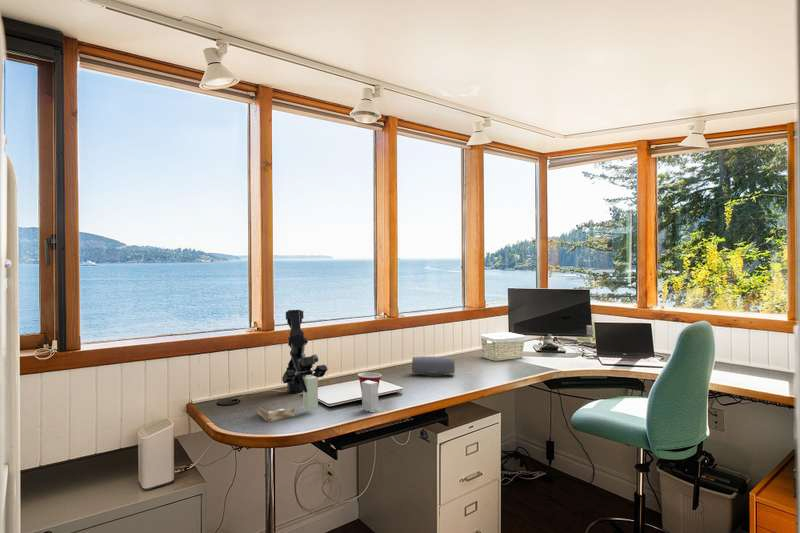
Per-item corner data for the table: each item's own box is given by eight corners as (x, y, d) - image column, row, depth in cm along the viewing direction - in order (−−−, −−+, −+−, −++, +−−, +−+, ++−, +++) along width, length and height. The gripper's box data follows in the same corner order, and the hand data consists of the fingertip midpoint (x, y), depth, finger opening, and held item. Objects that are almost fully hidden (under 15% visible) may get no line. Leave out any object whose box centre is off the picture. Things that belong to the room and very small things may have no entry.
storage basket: (509, 353, 319) (509, 331, 319) (526, 358, 304) (526, 335, 304) (479, 357, 308) (479, 334, 308) (495, 362, 294) (495, 338, 294)
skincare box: (379, 410, 203) (378, 382, 203) (371, 413, 200) (371, 384, 200) (369, 407, 208) (368, 379, 207) (361, 410, 204) (361, 381, 204)
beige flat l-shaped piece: (283, 409, 206) (283, 402, 206) (294, 415, 197) (294, 408, 197) (257, 414, 200) (257, 407, 199) (268, 421, 191) (268, 414, 191)
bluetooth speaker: (454, 373, 267) (454, 355, 267) (454, 377, 258) (454, 358, 258) (413, 372, 270) (413, 354, 269) (412, 376, 260) (411, 358, 260)
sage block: (312, 403, 204) (312, 375, 204) (317, 406, 201) (317, 377, 201) (303, 405, 202) (302, 377, 201) (308, 408, 198) (307, 379, 198)
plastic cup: (386, 398, 220) (386, 372, 220) (373, 405, 211) (373, 377, 210) (366, 395, 226) (366, 369, 225) (353, 401, 216) (352, 374, 216)
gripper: (284, 351, 198) (296, 383, 190) (325, 345, 209) (338, 376, 201) (277, 367, 205) (288, 399, 196) (316, 361, 216) (329, 391, 207)
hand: (311, 390), depth 200 cm, fingers closed on sage block, 4 cm apart
